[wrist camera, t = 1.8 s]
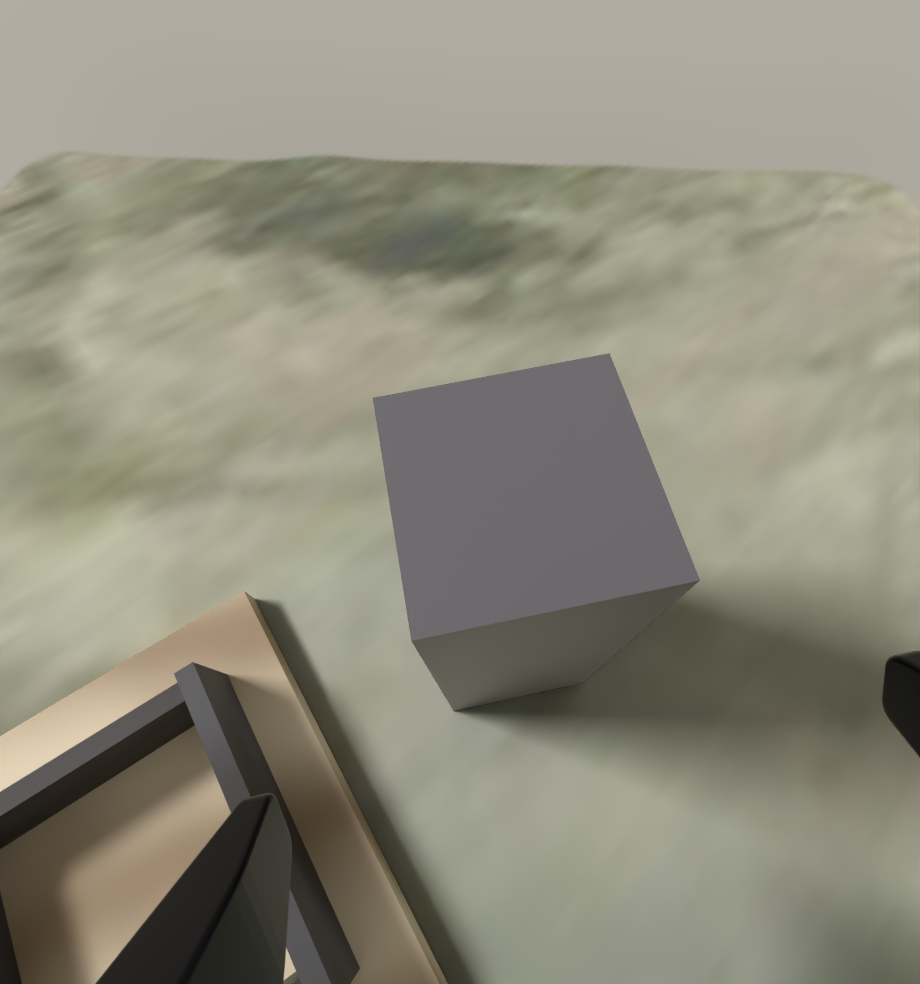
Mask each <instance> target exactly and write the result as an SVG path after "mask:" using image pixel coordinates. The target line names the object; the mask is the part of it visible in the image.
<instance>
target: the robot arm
mask: <svg viewBox="0 0 920 984" xmlns="http://www.w3.org/2000/svg"><path fill="white" fill-rule="evenodd" d="M882 703H883V708H884V710H885V713H886V715H887V716H888V718H889V719H890V721H891V722H892V723H893V725H894V726H895V727H896V728H897V730H898V731H899V732H900V733H901V735H902V736H903V737H904V738H905V740H906V741H907V742H908V743H909V745H910V746H911V747H912V748H913V750H914V751H915V752H916V753H917V755H918V756H919V757H920V651H912V652H907V653H903V654H898V655H894V656H892V657H890V658H889V659H888V660H887V662H886V666H885V675H884V685H883V695H882ZM291 861H292V843H291V837H290V833H289V830H288V827H287V825H286V822H285V819H284V817H283V814H282V811H281V808H280V806H279V803H278V800H277V798H276V797H275V796H274V794H272V793H265V794H261V795H256V796H252V797H247V798H245V799H243V800H242V801H241V802H240V803H239V804H238V805H237V806H236V807H235V809H234V810H233V811H232V813H231V814H230V815H229V816H228V818H227V819H226V820H225V821H224V823H223V824H222V825H221V826H220V828H219V829H218V830H217V831H216V833H215V834H214V835H213V836H212V838H211V839H210V840H209V841H208V843H207V844H206V845H205V846H204V848H203V849H202V850H201V851H200V853H199V854H198V855H197V856H196V858H195V859H194V860H193V861H192V863H191V864H190V865H189V866H188V868H187V869H186V870H185V871H184V873H183V874H182V875H181V877H180V878H179V879H178V880H177V882H176V883H175V884H174V885H173V887H172V888H171V889H170V890H169V892H168V893H167V894H166V895H165V897H164V898H163V899H162V900H161V902H160V903H159V904H158V905H157V907H156V908H155V909H154V910H153V912H152V913H151V914H150V915H149V917H148V918H147V919H146V920H145V922H144V923H143V924H142V925H141V927H140V928H139V929H138V930H137V932H136V933H135V934H134V935H133V937H132V938H131V939H130V941H129V942H128V943H127V944H126V946H125V947H124V948H123V949H122V951H121V952H120V953H119V954H118V956H117V957H116V958H115V959H114V961H113V962H112V963H111V964H110V966H109V967H108V968H107V969H106V971H105V972H104V973H103V974H102V976H101V977H100V978H99V979H98V981H97V982H96V983H95V984H283V981H284V970H285V958H286V941H287V925H288V909H289V893H290V877H291Z"/></svg>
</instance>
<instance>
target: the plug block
mask: <svg viewBox="0 0 920 984" xmlns="http://www.w3.org/2000/svg"><path fill="white" fill-rule="evenodd" d="M373 402H374V408H375V415H376V421H377V427H378V433H379V440H380V446H381V452H382V458H383V465H384V471H385V477H386V484H387V490H388V496H389V502H390V509H391V515H392V521H393V527H394V534H395V540H396V546H397V552H398V559H399V565H400V571H401V578H402V584H403V590H404V596H405V603H406V609H407V615H408V621H409V628H410V634H411V640H412V642H413V644H414V646H415V647H416V649H417V651H418V652H419V654H420V656H421V657H422V659H423V661H424V662H425V664H426V666H427V667H428V669H429V671H430V672H431V674H432V676H433V677H434V679H435V681H436V682H437V684H438V686H439V687H440V689H441V691H442V692H443V694H444V696H445V697H446V699H447V701H448V702H449V704H450V706H451V707H452V709H453V711H456V710H461V709H465V708H470V707H474V706H479V705H484V704H488V703H493V702H498V701H502V700H507V699H511V698H516V697H521V696H525V695H530V694H535V693H539V692H544V691H548V690H553V689H558V688H562V687H567V686H572V685H576V684H581V683H583V682H584V681H585V680H587V679H588V678H589V677H590V676H591V675H592V674H593V673H595V672H596V671H597V670H598V669H599V668H600V667H601V666H603V665H604V664H605V663H606V662H607V661H608V660H609V659H611V658H612V657H613V656H614V655H615V654H616V653H617V652H619V651H620V650H621V649H622V648H623V647H624V646H625V645H627V644H628V643H629V642H630V641H631V640H632V639H633V638H635V637H636V636H637V635H638V634H639V633H640V632H641V631H643V630H644V629H645V628H646V627H647V626H648V625H649V624H651V623H652V622H653V621H654V620H655V619H656V618H657V617H659V616H660V615H661V614H662V613H663V612H664V611H665V610H667V609H668V608H669V607H670V606H671V605H672V604H673V603H675V602H676V601H677V600H678V599H679V598H680V597H681V596H683V595H684V594H685V593H686V592H687V591H688V590H689V589H691V588H692V587H693V586H694V585H695V584H696V583H697V582H699V581H700V580H699V577H698V575H697V572H696V570H695V567H694V565H693V562H692V560H691V557H690V555H689V552H688V550H687V547H686V545H685V542H684V540H683V537H682V535H681V532H680V530H679V527H678V525H677V522H676V519H675V517H674V514H673V512H672V509H671V507H670V504H669V502H668V499H667V497H666V494H665V492H664V489H663V487H662V484H661V482H660V479H659V477H658V474H657V472H656V469H655V467H654V464H653V462H652V459H651V457H650V454H649V452H648V449H647V447H646V444H645V442H644V439H643V437H642V434H641V431H640V429H639V426H638V424H637V421H636V419H635V416H634V414H633V411H632V409H631V406H630V404H629V401H628V399H627V396H626V394H625V391H624V389H623V386H622V384H621V381H620V379H619V376H618V374H617V371H616V369H615V366H614V364H613V361H612V359H611V356H610V354H604V355H598V356H593V357H588V358H582V359H577V360H572V361H567V362H561V363H556V364H551V365H545V366H540V367H535V368H529V369H524V370H519V371H514V372H508V373H503V374H498V375H492V376H487V377H482V378H476V379H471V380H466V381H461V382H455V383H450V384H445V385H439V386H434V387H429V388H424V389H418V390H413V391H408V392H402V393H397V394H392V395H386V396H381V397H376V398H373Z"/></svg>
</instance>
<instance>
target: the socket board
mask: <svg viewBox="0 0 920 984" xmlns="http://www.w3.org/2000/svg"><path fill="white" fill-rule="evenodd" d="M265 793H272V794H274V796H275V797H276V798H277V800H278V803H279V806H280V808H281V811H282V814H283V817H284V819H285V822H286V825H287V827H288V830H289V833H290V837H291V843H292V861H291V877H290V893H289V909H288V925H287V941H286V958H285V970H284V981H283V984H448V983H447V981H446V979H445V977H444V975H443V973H442V971H441V969H440V967H439V965H438V963H437V961H436V959H435V957H434V955H433V953H432V951H431V949H430V947H429V945H428V943H427V941H426V939H425V937H424V935H423V933H422V931H421V929H420V927H419V925H418V923H417V921H416V919H415V917H414V915H413V913H412V911H411V909H410V907H409V905H408V903H407V901H406V899H405V897H404V895H403V893H402V891H401V890H400V888H399V886H398V884H397V882H396V880H395V878H394V876H393V874H392V872H391V870H390V868H389V866H388V864H387V862H386V860H385V858H384V856H383V854H382V852H381V850H380V848H379V846H378V844H377V842H376V840H375V838H374V836H373V834H372V832H371V830H370V828H369V826H368V824H367V822H366V820H365V818H364V816H363V814H362V812H361V810H360V808H359V806H358V804H357V802H356V800H355V798H354V796H353V794H352V792H351V790H350V788H349V786H348V784H347V782H346V780H345V778H344V776H343V774H342V772H341V770H340V768H339V766H338V764H337V762H336V760H335V758H334V756H333V754H332V752H331V750H330V748H329V746H328V744H327V742H326V740H325V738H324V736H323V734H322V732H321V730H320V728H319V726H318V724H317V722H316V720H315V718H314V716H313V714H312V712H311V710H310V708H309V706H308V704H307V702H306V700H305V698H304V696H303V695H302V693H301V691H300V689H299V687H298V685H297V683H296V681H295V679H294V677H293V675H292V673H291V671H290V669H289V667H288V665H287V663H286V661H285V659H284V657H283V655H282V653H281V651H280V649H279V647H278V645H277V643H276V641H275V639H274V637H273V635H272V633H271V631H270V629H269V627H268V625H267V623H266V621H265V619H264V617H263V615H262V613H261V611H260V609H259V607H258V605H257V603H256V601H255V599H254V598H253V597H252V596H250V595H249V594H247V593H246V592H245V591H243V592H241V593H240V594H238V595H236V596H235V597H233V598H231V599H230V600H228V601H226V602H225V603H223V604H221V605H220V606H218V607H216V608H214V609H213V610H211V611H209V612H208V613H206V614H204V615H203V616H201V617H199V618H198V619H196V620H194V621H193V622H191V623H189V624H188V625H186V626H184V627H183V628H181V629H179V630H178V631H176V632H174V633H173V634H171V635H169V636H168V637H166V638H164V639H163V640H161V641H159V642H158V643H156V644H154V645H152V646H151V647H149V648H147V649H146V650H144V651H142V652H141V653H139V654H137V655H136V656H134V657H132V658H131V659H129V660H127V661H126V662H124V663H122V664H121V665H119V666H117V667H116V668H114V669H112V670H111V671H109V672H107V673H106V674H104V675H102V676H101V677H99V678H97V679H96V680H94V681H92V682H90V683H89V684H87V685H85V686H84V687H82V688H80V689H79V690H77V691H75V692H74V693H72V694H70V695H69V696H67V697H65V698H64V699H62V700H60V701H59V702H57V703H55V704H54V705H52V706H50V707H49V708H47V709H45V710H44V711H42V712H40V713H39V714H37V715H35V716H34V717H32V718H30V719H28V720H27V721H25V722H23V723H22V724H20V725H18V726H17V727H15V728H13V729H12V730H10V731H8V732H7V733H5V734H3V735H2V736H0V984H95V983H96V982H97V981H98V979H99V978H100V977H101V976H102V974H103V973H104V972H105V971H106V969H107V968H108V967H109V966H110V964H111V963H112V962H113V961H114V959H115V958H116V957H117V956H118V954H119V953H120V952H121V951H122V949H123V948H124V947H125V946H126V944H127V943H128V942H129V941H130V939H131V938H132V937H133V935H134V934H135V933H136V932H137V930H138V929H139V928H140V927H141V925H142V924H143V923H144V922H145V920H146V919H147V918H148V917H149V915H150V914H151V913H152V912H153V910H154V909H155V908H156V907H157V905H158V904H159V903H160V902H161V900H162V899H163V898H164V897H165V895H166V894H167V893H168V892H169V890H170V889H171V888H172V887H173V885H174V884H175V883H176V882H177V880H178V879H179V878H180V877H181V875H182V874H183V873H184V871H185V870H186V869H187V868H188V866H189V865H190V864H191V863H192V861H193V860H194V859H195V858H196V856H197V855H198V854H199V853H200V851H201V850H202V849H203V848H204V846H205V845H206V844H207V843H208V841H209V840H210V839H211V838H212V836H213V835H214V834H215V833H216V831H217V830H218V829H219V828H220V826H221V825H222V824H223V823H224V821H225V820H226V819H227V818H228V816H229V815H230V814H231V813H232V811H233V810H234V809H235V807H236V806H237V805H238V804H239V803H240V802H241V801H242V800H243V799H245V798H247V797H252V796H256V795H261V794H265Z"/></svg>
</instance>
